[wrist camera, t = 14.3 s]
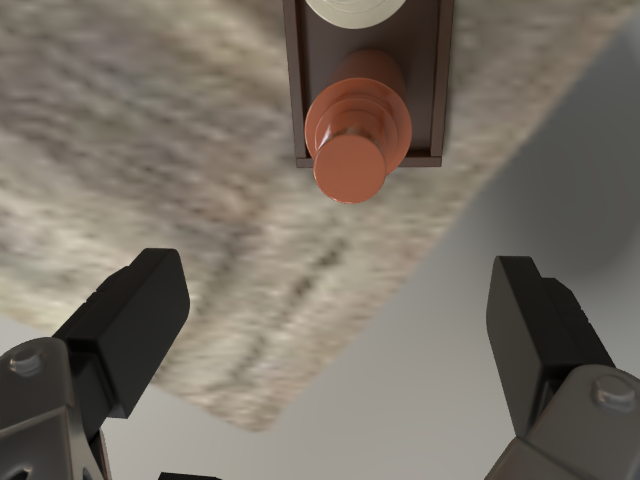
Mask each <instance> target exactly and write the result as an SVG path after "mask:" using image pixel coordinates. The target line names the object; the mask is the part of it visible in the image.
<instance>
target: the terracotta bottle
mask: <svg viewBox="0 0 640 480" xmlns="http://www.w3.org/2000/svg"><path fill="white" fill-rule="evenodd" d="M304 133H305V141H306V145H307V148H308V151H309V153H310V155H311V157H312V159H313V160H314V162H313V174H314V178H315V181H316V183H317V185H318V187H319V188H320V189H321V191H322V192H323V193H324V194H325V195H327V196H328V197H329V198H331V199H333V200H335V201H338V202H341V203H347V204H354V203H360V202H363V201H366V200H368V199H370V198H371V197H373V196H374V195H375V194H376V193H377V192H378V191H379V190H380V189H381V187H382V185H383V184H384V181H385V178H386V176H387V175H388V174H390V173H391V172H392V171H393V170H395V169H396V168H397V167H398V166H399V164H400V163H401V162H402V160H403V159H404V157H405V156H406V154H407V152H408V149H409V146H410V142H411V137H412V124H411V117H410V110H409V103H408V96H407V90H406V83H405V77H404V74H403V72H402V69H401V67H400V66H399V64H398V63H397V62H396V61H395V60H394V59H393V58H392V57H391V56H390V55H388V54H387V53H385V52H383V51H380V50H376V49H360V50H356V51H354V52H351V53H350V54H348V55H346V56H345V57H344V58H343V59H342V60H341V61H340V62H339V63H338V64H337V65H336V67H335V68H334V70H333V71H332V73H331V75H330V76H329V78H328V79H327V81H326V82H325V84H324V85H323V87H322V89H321V90H320V92H319V93H318V95H317V96H316V98H315V100H314V101H313V103H312V105H311V106H310V108H309V111H308V113H307V116H306V120H305V127H304Z"/></svg>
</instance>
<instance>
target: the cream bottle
mask: <svg viewBox="0 0 640 480" xmlns="http://www.w3.org/2000/svg"><path fill="white" fill-rule="evenodd" d="M405 1H406V0H306V2H307V3H308V5H309V6H310V7H311V8H312V9H313V11H314V12H315V13H316V14H318V15H319V16H320V17H321V18H323V19H324V20H326V21H327V22H329V23H331V24H333V25H336V26H339V27H342V28H348V29H361V28H367V27H371V26H374V25H376V24H379V23H381V22H383V21H384V20H386V19H388V18H389V17H390V16H391V15H393V14H394V13H395V12H396V11H397V10H398V9H399V8H400V7H401V6H402V5H403V3H404V2H405Z"/></svg>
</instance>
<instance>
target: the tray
mask: <svg viewBox="0 0 640 480" xmlns="http://www.w3.org/2000/svg"><path fill="white" fill-rule="evenodd" d="M453 6H454V0H406V1H405V2H404V3H403V5H402V6H401V7H400V8H399V9H398V10H397V11H396V12H395V13H394V14H393V15H391V16H390V17H389V18H388V19H386V20H384V21H383V22H381V23H379V24H376V25H374V26H371V27H367V28H361V29H348V28H342V27H339V26H336V25H333V24H331V23H329V22H327V21H326V20H324V19H323V18H321V17H320V16H319V15H318V14H316V13H315V12H314V11H313V9H312V8H311V7H310V6H309V5H308V3H307V2H306V0H283V10H284V22H285V34H286V46H287V58H288V70H289V83H290V95H291V107H292V119H293V131H294V143H295V155H296V166H297V168H313V162H314V160H313V159H312V157H311V155H310V153H309V151H308V148H307V145H306V141H305V133H304V127H305V120H306V116H307V113H308V111H309V108H310V106H311V105H312V103H313V101H314V100H315V98H316V96H317V95H318V93H319V92H320V90H321V89H322V87H323V85H324V84H325V82H326V81H327V79H328V78H329V76H330V75H331V73H332V71H333V70H334V68H335V67H336V65H337V64H338V63H339V62H340V61H341V60H342V59H343V58H344V57H345V56H346V55H348V54H350V53H351V52H354V51H356V50H360V49H376V50H380V51H383V52H385V53H387V54H388V55H390V56H391V57H392V58H393V59H394V60H395V61H396V62H397V63H398V64H399V66H400V67H401V69H402V72H403V74H404V77H405V83H406V90H407V96H408V103H409V110H410V117H411V124H412V137H411V142H410V146H409V149H408V152H407V154H406V156H405V157H404V159H403V160H402V162H401V163H400V164H399V166H398V167H441V163H442V150H443V137H444V124H445V111H446V98H447V85H448V72H449V58H450V45H451V32H452V19H453Z"/></svg>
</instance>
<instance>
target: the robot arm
mask: <svg viewBox="0 0 640 480" xmlns="http://www.w3.org/2000/svg"><path fill="white" fill-rule="evenodd" d="M189 309H190V298H189V293H188V289H187V285H186V281H185V276H184V272H183V268H182V264H181V259H180V256H179V253H178V252H177V250H175V249H167V248H146V249H144V250H143V251H142V252H141V253H140V254H139V255H138V256H137V257H136V258H135V260H134V261H133V262H132V263H131V264H130V265H129V266H125V267H124V268H122V269H120V270H119V271H117V272H115V273H114V274H112V275H110V276H109V277H108V278H107V279H106V280H105V281H104V282H103V283H102V284H101V285H100V286H99V287H98V288H97V289H96V292H93V293H92V295H91V296H90V297H89V298H88V299H87V302H86V303H83V304H82V305H81V306H80V307H79V308H78V309H77V310H76V311H75V313H74V314H73V315H72V316H71V317H70V318H69V319H68V320H67V321H66V322H65V323H64V324H63V325H62V326H61V327H60V328H59V329H58V330H57V332H56V333H55V334H54V335H53V336H52V337H43V338H37V339H33V340H29V341H26V342H24V343H21V344H19V345H17V346H15V347H13V348H12V349H10V350H9V351H7V352H5V353H4V354H3V355H2V356H1V357H0V480H112V476H111V471H110V466H109V460H108V454H107V449H106V444H105V438H104V434H103V431H102V429H101V425H102V424H103V422H104V420H105V419H106V417H111V418H124V419H128V417H129V416H130V414H131V412H132V411H133V409H134V407H135V405H136V404H137V402H138V400H139V399H140V397H141V395H142V394H143V392H144V390H145V389H146V387H147V385H148V384H149V382H150V380H151V379H152V377H153V375H154V374H155V372H156V370H157V369H158V367H159V365H160V364H161V362H162V360H163V359H164V357H165V355H166V354H167V352H168V350H169V348H170V347H171V345H172V343H173V342H174V340H175V338H176V337H177V335H178V333H179V332H180V330H181V328H182V327H183V325H184V323H185V322H186V320H187V317H188V314H189ZM486 324H487V332H488V336H489V340H490V344H491V347H492V351H493V354H494V358H495V362H496V365H497V369H498V372H499V376H500V379H501V383H502V387H503V390H504V394H505V398H506V401H507V405H508V408H509V412H510V416H511V419H512V423H513V427H514V430H515V434H516V437H515V438H514V439H513V440H512V441H511V442H510V443H509V445H508V446H507V448H506V449H505V451H504V452H503V453H502V455H501V456H500V457H499V459H498V460H497V462H496V463H495V465H494V466H493V468H492V469H491V471H490V472H489V473H488V475H487V476H486V477H485V479H484V480H640V379H638V378H636V377H635V376H633V375H631V374H629V373H627V372H625V371H622V370H620V369H617V368H616V366H615V365H614V363H613V361H612V359H611V358H610V356H609V354H608V352H607V351H606V350H605V347H604V346H603V344H602V342H601V341H600V339H599V337H598V335H597V334H596V332H595V330H594V329H593V327H592V325H591V324H590V323H588V318H587V317H586V315H585V313H584V311H583V310H581V306H580V305H579V303H578V301H577V299H576V298H575V296H574V294H573V293H572V291H571V290H569V289H568V288H567V287H566V286H564V285H563V284H562V283H560V282H559V281H558V280H556V279H555V278H542V277H541V276H540V273H539V271H538V270H537V268H536V266H535V264H534V262H533V260H532V258H531V257H529V256H496V258H495V260H494V264H493V270H492V276H491V283H490V290H489V296H488V303H487V311H486ZM158 480H222V479H219V478H216V477H208V476H198V475H188V474H176V473H166V472H165V473H164V472H161V474H160V476H159V478H158Z"/></svg>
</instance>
